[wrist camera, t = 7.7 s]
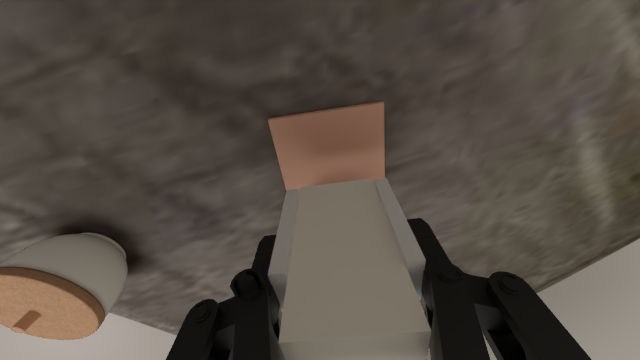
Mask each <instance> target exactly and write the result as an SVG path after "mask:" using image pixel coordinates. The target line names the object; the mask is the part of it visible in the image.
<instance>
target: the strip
mask: <svg viewBox="0 0 640 360" xmlns="http://www.w3.org/2000/svg"><path fill="white" fill-rule="evenodd" d="M268 123H269V127H270V131H271V134H272V138H273V142H274V146H275V150H276V153H277V157H278V161H279V165H280V168H281V172H282V176H283V180H284V184H285V187H286V191H287V190H292V189H298V192H300V187H307V186H315V185H323V184H330V183H338V182H346V181H354V180H362V179H370V178H372V181H373V183H374V186H375V182H374V179H380V178H385V146H384V102H383V101H379V102H373V103H366V104H359V105H353V106H346V107H340V108H333V109H326V110H320V111H313V112H306V113H300V114H293V115H287V116H280V117H273V118H269V119H268Z"/></svg>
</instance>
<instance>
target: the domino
mask: <svg viewBox="0 0 640 360" xmlns="http://www.w3.org/2000/svg"><path fill="white" fill-rule="evenodd" d="M430 336H431V329H430V326H429V324H428V321H427V319H426V316H425V313H424V311H423V308H422V306H421V303H420V301H419V298H418V296H417V293H416V290H415V288H414V285H413V283H412V280H411V278H410V275H409V273H408V270H407V269H406V267H405V265H404V262H403V259H402V257H401V254H400V252H399V249H398V246H397V244H396V241H395V238H394V236H393V233H392V231H391V228H390V225H389V223H388V220H387V217H386V215H385V212H384V210H383V207H382V204H381V202H380V199H379V197H378V194H377V191H376V189H375V186H374V183H373V181H372V178H370V179H362V180H354V181H346V182H338V183H330V184H323V185H315V186H307V187H300V192H299V202H298V209H297V216H296V223H295V230H294V237H293V244H292V251H291V258H290V265H289V272H288V279H287V285H286V292H285V299H284V306H283V314H282V321H281V328H280V335H279V342H278V343H279V345H280V348H281V350H282V352H283V354H284V357H285V359H286V360H427V355H428V349H429V342H430Z"/></svg>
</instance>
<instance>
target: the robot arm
mask: <svg viewBox="0 0 640 360" xmlns="http://www.w3.org/2000/svg"><path fill="white" fill-rule="evenodd" d="M374 182H375V189H376V191H377V194H378V197H379V199H380V202H381V204H382V207H383V210H384V212H385V215H386V217H387V220H388V223H389V225H390V228H391V231H392V233H393V236H394V238H395V241H396V244H397V246H398V249H399V252H400V254H401V257H402V259H403V262H404V265H405V267H406V269H407V270H408V273H409V275H410V278H411V280H412V283H413V285H414V288H415V290H416V293H417V296H418V298H419V300H421V297H422V295H423V297H424V300H425V302H426V306H425V316H426V319H427V321H428V324H429V326H430V329H431V336H430V342H429V347H430V354H431V360H490V357H489V354H488V351H487V347H486V344H485V340H484V337H483V334H484V336H485V338H486V340H487V341H488V343H489V345H490V347H491V349H492V351H493V353H494V355H495V356H496V358H497V360H591V359H590V357H589V356H588V355H587V354H586V352H585V351H584V350H583V349H582V348H581V347H580V346H579V344H578V343H577V342H576V341H575V339H574V338H573V337H572V336H571V335H570V333H569V332H568V331H567V330H566V329H565V328H564V326H563V325H562V324H561V323H560V322H559V320H558V319H557V318H556V317H555V315H554V314H553V313H552V312H551V311H550V309H548V307H547V306H546V305H545V304H544V303H543V301H542V300H541V299H540V297H539V296H538V295H537V294H536V293H535V292H534V290H533V289H532V288H531V287H530V286H529V284H527V283H526V282H525V281H524V280H523V279H522V278H520V277H518V276H516V275H514V274H511V273H508V272H500V271H499V272H495V273H493V274H492V275H491V276H490V277H489V278H485V277H479V276H473V275H469V274H466V273H464V272H463V271H461V270H460V269H459V268H458V267H457V266H455V265H453V264H452V263H451V262H450V260H449V259H448V257H447V255H446V253H445V252H444V250H443V248H442V247H441V245H440V243H439V242H438V240H437V239H436V236H435V235H434V233H433V231H432V230H431V228H430V226H429V225H428V224H427V223H426V222H425V221H424V220H422V219H421V218H417V219H408V220H406V218H405V215H404V213H403V211H402V209H401V207H400V205H399V203H398V201H397V199H396V197H395V195H394V193H393V191H392V188H391V186H390V184H389V182H388V180H387V178H380V179H374ZM298 202H299V192H298V189H292V190H287V191H286V195H285V200H284V204H283V208H282V213H281V217H280V222H279V226H278V231H277V235H270V236H264V238H263V239H262V240H261V241H260V243H259V245H258V248H257V252H256V255H255V259H254V262H253V265H252V268H251V269H246V270H243V271H241V272H240V273H238V274H237V275H236V276H235V277H234V279H233V280H232V282H231V285H230V287H231V289H232V291H233V293H234V295H235V296H234V297H233V298H230V299H228V300H225V301H223V302H220V303H217V302H216V301H215V300H213V299H206V300H203V301H201V302H199V303H197V304H196V305H195V306H194V307H193V308H192V309H191V310H190V311H189V313H188V314H187V316H186V318H185V320H184V322H183V324H182V327H181V329H180V331H179V333H178V335H177V337H176V339H175V341H174V344H173V346H172V348H171V350H170V352H169V354H168V356H167V358H166V360H284V354H283V352H282V350H281V348H280V345H279V343H278V342H279V335H280V328H281V323H280V319H279V316H278V314H279V308H281V310H282V312H283V306H284V299H285V292H286V285H287V279H288V272H289V265H290V258H291V251H292V244H293V237H294V230H295V223H296V216H297V209H298ZM482 332H483V333H482Z"/></svg>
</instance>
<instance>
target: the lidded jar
mask: <svg viewBox="0 0 640 360" xmlns="http://www.w3.org/2000/svg"><path fill="white" fill-rule="evenodd" d="M127 276H128V266H127V262H126V253H125V251H124V249H123V248H122V247H121V246H120V245H119V244H118V243H117V242H115V241H114V240H112V239H111V238H109V237H106V236H104V235H101V234H97V233H92V232H84V233H79V234H67V235H60V236H56V237H51V238H48V239H45V240H42V241H39V242H37V243H35V244H33V245H30V246H28V247H26V248H24V249H22V250H21V251H19V252H17V253H15V254H14V255H12V256H10V257H9V258H7V259H6V260H4V261H3V262H1V263H0V324H2V325H4V326H6V327H8V328H10V329H11V330H13V331H14V332H17V333H25V334H28V335H32V336H37V337H42V338H48V339H58V340H71V339H80V338H84V337H87V336H89V335H91V334H93V333H94V332H95V331H97V329H98V328H99V327H100V325H101V324H102V322H103V321H104V319H105V317H106V315H107V314H108V313H109V312H110V310H111V309H112V307H113V306H114V304H115V303H116V301H117V300H118V298H119V296H120V295H121V293H122V291H123V289H124V287H125V284H126V280H127Z"/></svg>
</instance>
